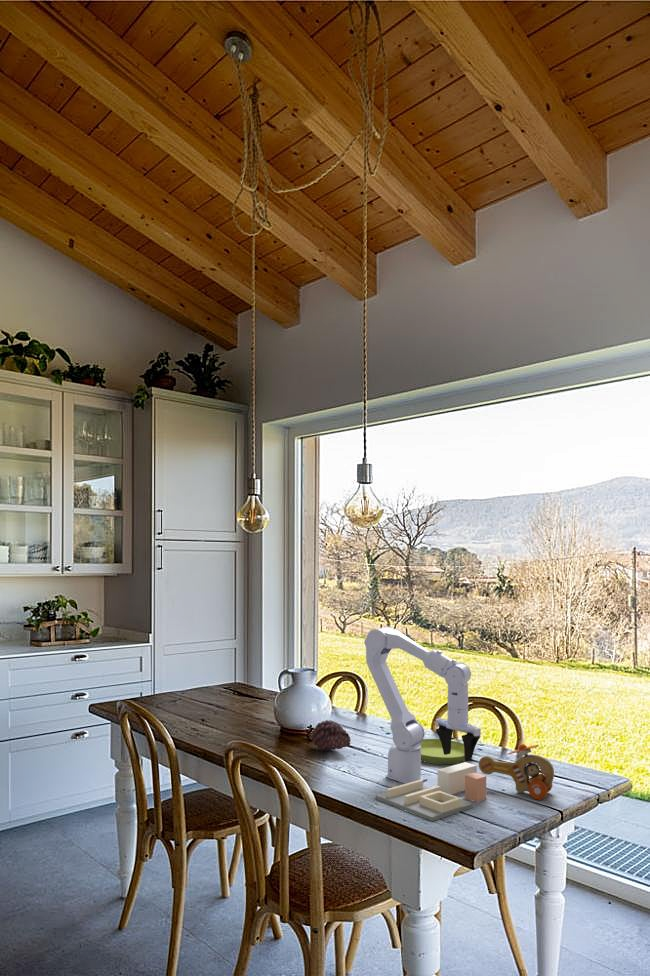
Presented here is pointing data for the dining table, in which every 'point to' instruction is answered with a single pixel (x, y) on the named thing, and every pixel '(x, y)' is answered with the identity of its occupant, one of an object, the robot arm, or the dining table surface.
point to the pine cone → (330, 736)
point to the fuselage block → (454, 777)
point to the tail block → (475, 787)
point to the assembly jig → (424, 800)
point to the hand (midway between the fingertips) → (457, 757)
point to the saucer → (441, 752)
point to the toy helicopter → (524, 771)
